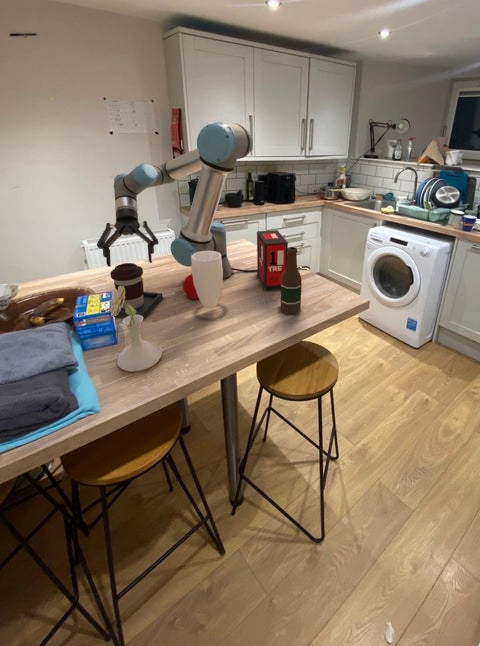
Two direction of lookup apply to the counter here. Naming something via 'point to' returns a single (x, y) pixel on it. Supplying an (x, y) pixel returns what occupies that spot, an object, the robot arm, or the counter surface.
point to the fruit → (190, 287)
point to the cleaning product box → (271, 258)
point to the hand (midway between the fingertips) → (129, 263)
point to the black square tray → (144, 305)
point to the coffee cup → (129, 283)
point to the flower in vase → (134, 338)
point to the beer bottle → (291, 285)
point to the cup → (207, 276)
